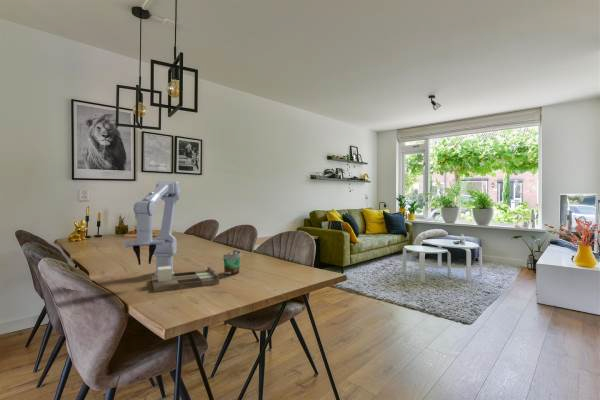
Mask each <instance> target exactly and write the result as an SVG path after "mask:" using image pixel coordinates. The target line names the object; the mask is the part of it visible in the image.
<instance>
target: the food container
mask: <svg viewBox="0 0 600 400" xmlns="http://www.w3.org/2000/svg"><path fill="white" fill-rule="evenodd" d="M222 256H223V257H222V258H223V265H224V266H223V269H224V270H223V271H224V272H223V273H224V276H235V275H239V274H240V267H241V258H242V256H243V255H242V252H241V251H240V250H235V249H234V250H233V251H232V252H229V253H227V254H223V255H222Z"/></svg>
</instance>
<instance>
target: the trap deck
mask: <svg viewBox="0 0 600 400" xmlns="http://www.w3.org/2000/svg"><path fill="white" fill-rule="evenodd" d="M150 278H151V279H150V280H151V284H152V288H153V292H154V293H156V292H157V293H158V292H165V291H166V292H167V291H172V290H181V289H188V288H189V289H190V288H196V287H197V288H198V287H204V286H211V285H219V284H220V275H219V274H218V273H217V272H216V271H215V270H214V269H213V268H212V267H211V266H207V269H206V270H205V269H203V270H194V271H184V272H174V273H173V274H172V281H163V282H158V275H155V274H154V275H151V277H150Z"/></svg>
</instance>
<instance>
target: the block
mask: <svg viewBox="0 0 600 400" xmlns="http://www.w3.org/2000/svg"><path fill="white" fill-rule="evenodd" d="M163 281H172V268H171V266H165V267H158V282H163Z"/></svg>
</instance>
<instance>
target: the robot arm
mask: <svg viewBox="0 0 600 400" xmlns="http://www.w3.org/2000/svg"><path fill="white" fill-rule="evenodd" d="M181 192H182V187H181V183H180V182H179V180H178V181H172V180H171V181H167V180H166V181H164V180H163V181H161V180H158V181H157V183H156V185H155V189H154V191H149V192H148V193H147V194H146V195H145V197H143V199H141V200H137V201H136V202H135V203H134V205H133V213H134V219H135V220H136V240H133V241H123V248H124V249H125V248H132V249H133V251H134V253H135V256H136V257H137V263H138V265H142V264H141V247H148V265H151V264H152V259H153V255H154V257H155V271H154V275H158V267H165V266H171V268H172V274H173V273H175V272H174V270H173V269H174V255H175V254H176V253H177V249H178V245H177V244H178V243H177V242H178V240H177V238H176V237H175V236H174V235H173V234H172V233H173V227H174V220H175V213H176V205H177V201H179V200H180V197H181ZM161 201H164V206H163V207H164V208H163V215H162V219H161V220H162V221H161V228H160V234H158V235H157V236H155V237H154V238H153V215H154V214H155V212H156V208H157V206H158V205H159V204H160V202H161Z"/></svg>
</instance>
